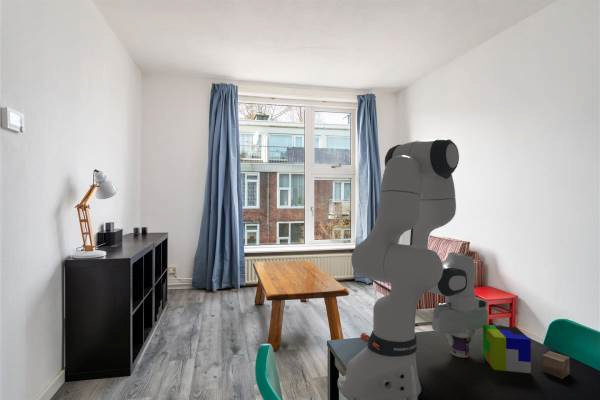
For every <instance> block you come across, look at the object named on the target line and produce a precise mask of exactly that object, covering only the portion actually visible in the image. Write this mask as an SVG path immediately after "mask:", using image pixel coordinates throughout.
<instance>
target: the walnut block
mask: <svg viewBox="0 0 600 400" xmlns="http://www.w3.org/2000/svg"><path fill="white" fill-rule="evenodd" d="M570 359H571V358H570V357H569V356H566V355H564V354H560V353H557V352H553V351H551V350H550V351H547V352H546V353H544V354H542V372H543V373H546V374H548V375H550V376H554V377H557V378H559V379H562V380H563V379H564V378H566V377H568V376H569V375H570V371H571V369H570V367H571V366H570V363H571V362H570Z"/></svg>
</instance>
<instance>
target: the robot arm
mask: <svg viewBox="0 0 600 400" xmlns="http://www.w3.org/2000/svg"><path fill="white" fill-rule="evenodd" d="M459 152H460V151H459V148H458V146H457V145H456V143H454V141H452V139H449V138H436V139H427V140H415V141H410V142H406V143H403V144H395V145H394V146H392V147H390V148H389V149H388V150H387V152H386V154H385V156H384V171H383V175H382V177H381V179H382V180H381V184H380V191H379V193H380V194H379V201H378V209H377V214H376V215H377V216H376V218H375V219H376V220H375V223H374V225H373V227H372V229H371V231H370V232H369V234H368V235H367V236H366V238H365V239H363V240H362V241H361V242H360V243H359V244H357V245H356V246H355V248H354V249H353V251H352V253H351V259H350V260H351V265H352V269H353V271H354V272H355V273H356V274H357V275H360V276H361V277H364V278H367V279H368V280H372V281H376V282H383V283H386V284H390V292H389V294H386V295H384V296H382V297H380V298H378V299H377V300H376V302H374V306H373V307H372V310H373V311H372V312H373V313H372V315H373V316H372V319H373V320H372V321H373V322H372V323H373V325H372V326H373V327H372V331H371V334H370V335H368V334H367V333H365V332H362V333H361V334H360V340H362V341H363V342H364V343H367V345H366V346H365V347H364V348H363V349H361V351H360V352H358V353H357V354H356V355H355V356H354V357H353V358H351V359H350V360H349V361H348V363H347V366H346V371H345V375H343V376H342V375H341V376H340V377H338V379H337V388H338V390H339V392H340V394H342V396H343V397H344V398H345V399H347V400H419V399H418V398H419V395H420V394H421V392H422V386H421V384H420V379H419V376H418V367H417V361H416V360H417V358H416V351H417V335H416V314H417V308H418V304H419V302H420V300H421V298H422V297H423V295H425V293H427V292H428V293H432V294H434V295H435V294H436V295H439V296H443V297H445V302H444V303H438V304H437V305H436V306H435V307H434V308H433V315H432V320H431V321H432V323H431V328H432V330H433V331H434V332H435V333H438V334H440V335H444V334H445V336H446V337H447V343H448V345H450V346H451V345H455V344H456V343H455V342H456V340H455V339H453V337H452V335H453V332H459V331H462V327H467V332H468V333H469V344H470V343H472V342H473V337H474V335H475V333H476V330H479V329H483V325H489V311H488V306H489V303H488V301H487V300H486V299H482V298H480V297H477V296H476V291H475V283H476V265H475V261H474V257H473V256H471V255H469V254H466V253H460V252H453V251H451V252H448V254H447V257H446V258H445V260H443V261H442V259H441V257H440V256H439V254H438V253H437V252H436V251H435V250H431V249H430V248H428V246H429V237H430V235H431V233H432V232H433V231H434V230H436V229H439V228H441V227H444V226H446V225H447V224H448V223H450V222H451V221H452V220H453V219H454V217H455V215H456V212H457V211H456V210H457V199H456V188H455V183H454V179H453V173H454V172H455V171H456V169H457V168H458V164H459V161H460V154H459ZM407 231H410V236H409V237H410V239H409V244H401V243H399V240H400V239H401V237H402V236H403V234H404V233H406V232H407Z"/></svg>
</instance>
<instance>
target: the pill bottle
mask: <svg viewBox="0 0 600 400" xmlns="http://www.w3.org/2000/svg"><path fill="white" fill-rule="evenodd" d="M452 337H453V339H455V340H456V342H455V343H456V344H455V345H450V346H451V348H450V349H451V354H452V355H453V356H455V357H458V358H462V359H463V358H469V357H470V343H469V333H468V330H467V327H462V331H459V332H453V335H452Z"/></svg>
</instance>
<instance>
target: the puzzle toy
mask: <svg viewBox="0 0 600 400" xmlns="http://www.w3.org/2000/svg"><path fill="white" fill-rule="evenodd" d="M531 342H532V339H531V338H530V337H528V336H527V335H526V334H525V333H524V332H522V330H520V329H519V328H518V327H517V326H516V327H515V326H503V325H489V324H488V325H483V328H482V355H483V357H484V359H485V360H486V362H487V363H488V364H489V365H490V367H491V368H492V370H495V371H504V372H513V373H514V372H515V373H525V374H531V373H532V371H531V369H532V367H531V365H532V364H531V363H532V355H531V354H532V353H531V352H532V343H531Z"/></svg>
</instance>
